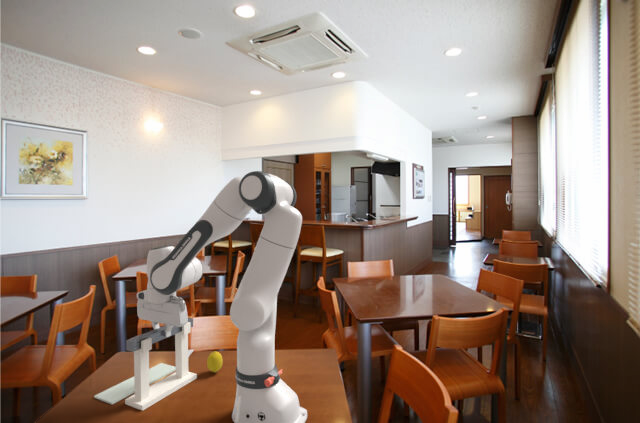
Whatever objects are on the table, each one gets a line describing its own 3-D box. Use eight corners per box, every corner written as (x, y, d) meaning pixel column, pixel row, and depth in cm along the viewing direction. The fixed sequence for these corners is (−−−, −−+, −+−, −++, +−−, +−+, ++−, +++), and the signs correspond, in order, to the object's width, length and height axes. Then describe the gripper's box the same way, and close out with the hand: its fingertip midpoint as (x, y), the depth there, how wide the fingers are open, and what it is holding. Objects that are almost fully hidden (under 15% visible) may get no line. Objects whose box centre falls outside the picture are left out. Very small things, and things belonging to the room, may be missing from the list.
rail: (193, 326, 129) (193, 318, 129) (132, 351, 108) (132, 342, 108) (187, 325, 131) (187, 317, 130) (126, 350, 109) (126, 340, 109)
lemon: (218, 376, 129) (218, 355, 128) (204, 375, 130) (204, 353, 130) (225, 369, 134) (225, 348, 134) (211, 368, 135) (211, 347, 135)
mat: (178, 369, 135) (178, 367, 135) (111, 404, 111) (111, 402, 111) (161, 364, 139) (161, 362, 139) (94, 397, 115) (94, 395, 115)
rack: (196, 378, 128) (196, 321, 127) (142, 410, 108) (141, 343, 107) (180, 373, 131) (179, 318, 131) (125, 404, 112) (123, 339, 111)
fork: (194, 355, 153) (194, 348, 153) (184, 373, 132) (184, 365, 132) (187, 355, 152) (187, 349, 153) (176, 373, 132) (176, 366, 132)
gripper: (192, 295, 117) (192, 337, 117) (149, 288, 126) (150, 327, 126) (176, 300, 111) (177, 344, 112) (133, 293, 120) (133, 333, 121)
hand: (162, 335), depth 119 cm, fingers closed on rail, 3 cm apart
